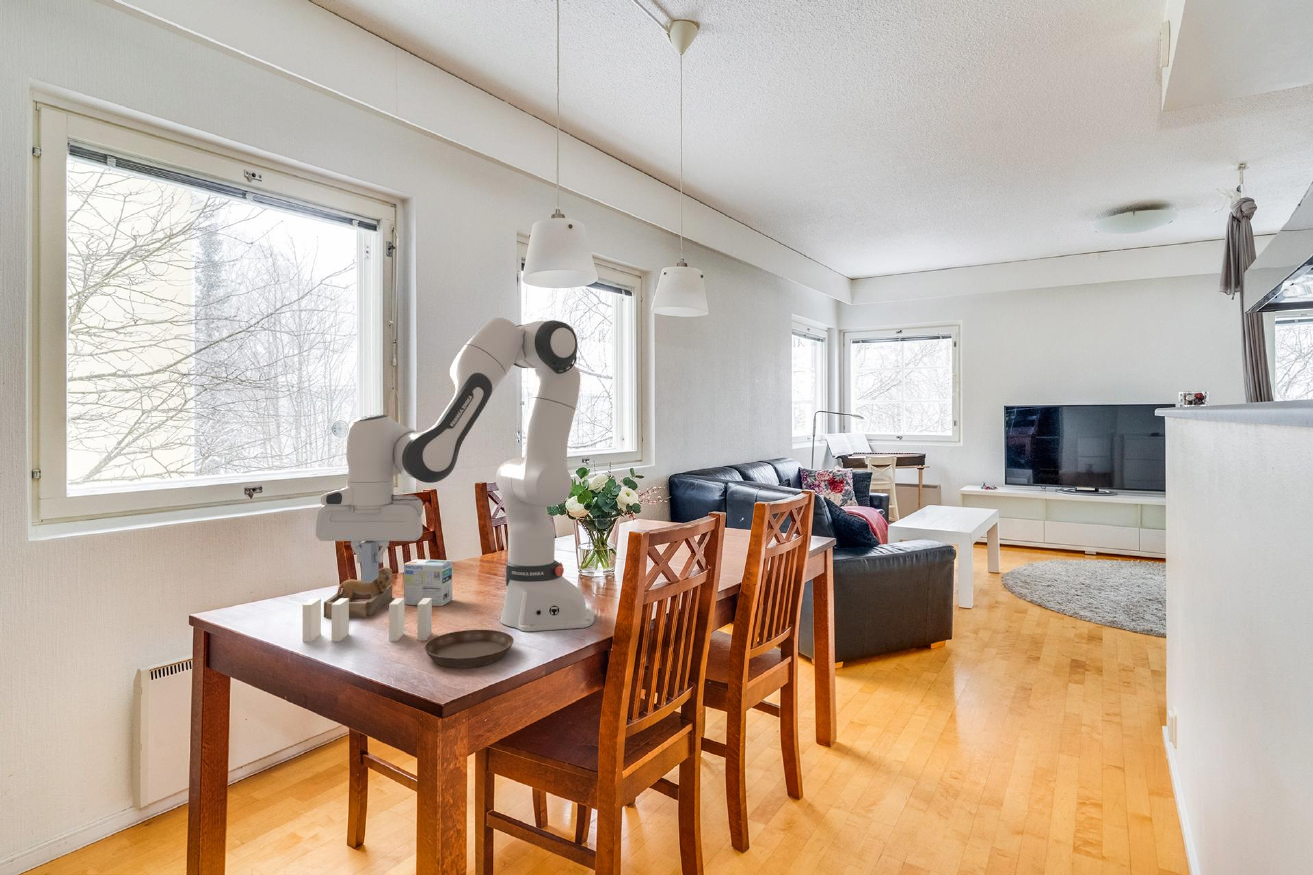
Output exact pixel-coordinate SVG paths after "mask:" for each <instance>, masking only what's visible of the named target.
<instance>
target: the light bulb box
mask: <svg viewBox="0 0 1313 875" xmlns="http://www.w3.org/2000/svg"><path fill="white" fill-rule="evenodd" d="M403 598H404V606H406V605H412V606H418V603H419V602H420V601H421V600H422V599H423V598H432V607H443V606H445V605H447V604H448V603H450V602H451V601H452V600H453V560H452V559H451V560H449V559H448V560H447V559H445V560H444V559H443V560H442V559H420V558H419V559H418V558H416V559H415V558H414V559H413V560H411V561H408V562H405V563H404V564H403Z"/></svg>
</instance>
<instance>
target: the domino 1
mask: <svg viewBox="0 0 1313 875" xmlns="http://www.w3.org/2000/svg"><path fill="white" fill-rule="evenodd" d="M321 621H322V598H321V597H319V598H316V597H315V598H311V599H309V600H308V601H306V602H305V603H303V604H302V642H303V643H304V642H307V643H309V642H310V643H311V642H313V641H314V640H316V639H317V638H318V637H319V636H321V634H322V632H321V631H322V629H321V628H322V627H321V626H322V622H321Z"/></svg>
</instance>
